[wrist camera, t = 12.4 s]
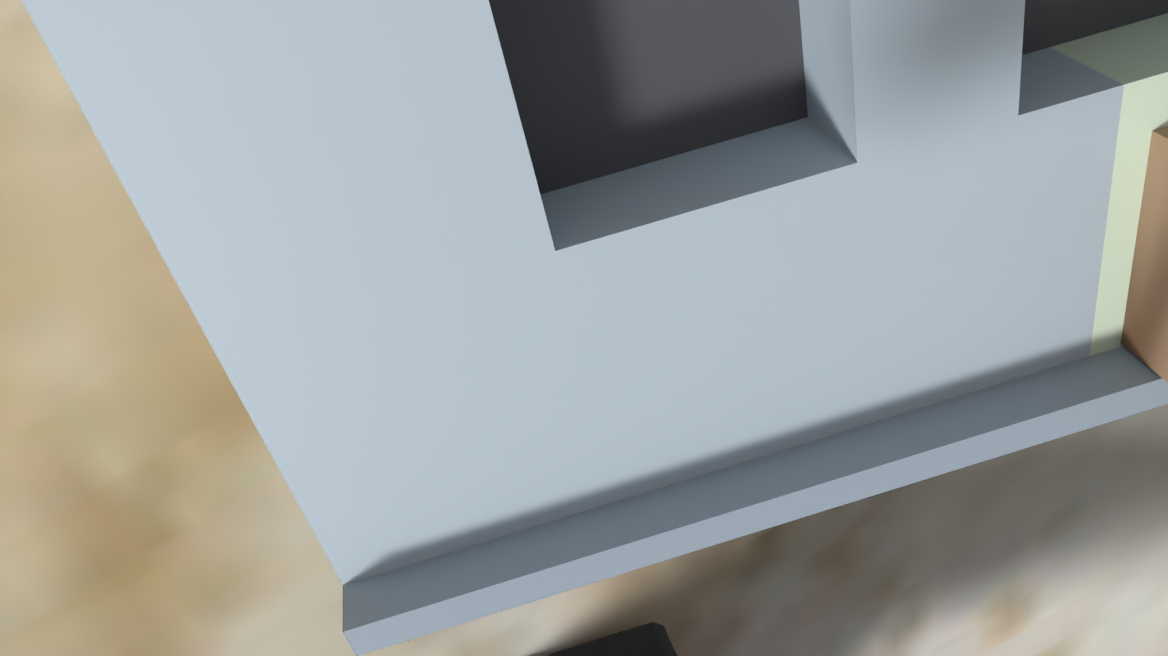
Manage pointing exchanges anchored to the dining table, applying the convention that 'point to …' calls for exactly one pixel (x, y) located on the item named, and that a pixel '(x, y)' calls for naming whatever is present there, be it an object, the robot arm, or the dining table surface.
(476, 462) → the trap tray
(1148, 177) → the walnut block
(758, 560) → the dining table surface
